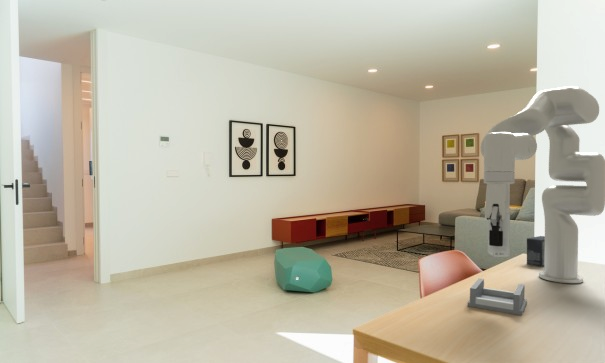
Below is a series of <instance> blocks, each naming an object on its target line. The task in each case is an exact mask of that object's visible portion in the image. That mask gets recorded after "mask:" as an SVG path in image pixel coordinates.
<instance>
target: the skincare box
mask: <svg viewBox="0 0 605 363" xmlns="http://www.w3.org/2000/svg"><path fill="white" fill-rule="evenodd" d="M490 217H491V215H490ZM497 219H500V218H498V217H497ZM490 220H491V218H489V220H487V253H488V254H489V255H490V256H492V257H495V258H497V257H498V258H510V246H511V245H510V242H511V240H510V237H511V235H510V234H511V232H510V230H511V225H510V224H511V213H510V211H509V212H507V214H506V219H505V220H504V221H502V231H503V246H490V245H489V230H490Z"/></svg>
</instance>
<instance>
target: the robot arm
mask: <svg viewBox="0 0 605 363" xmlns="http://www.w3.org/2000/svg"><path fill="white" fill-rule="evenodd" d="M599 105H600V104H599V103H598V100H597V99H596V98H595V97H594V96H593V95H592V94H591V93H589V92H588V91H586V90H585V89H583V88H582V87H578V86H576V85H571V86H563V87H562V86H561V87H557V88H556V87H555V88H549V89H544V90H540V91H537V92H536V93H535V94H534V95H533V96H532V97H531V99H529V101H528V102H527V103H526V105H524V107H523V108H522V110H521V111H519V112H518V113H516V114H514V115H512V116H509V117H508V118H506V119H504V120H502V121H500V122H498V123H496V124H495V125H493V126H492V127H491V128H490V129H489V130H488V132H486V134H485V135H484V137H483V138H482V140H481V143H480V153H481V156H482V157H483V184H486V188H485V189H486V190H485V191H486V192H485V206H484V207H485V208H484V219H485V221H488V220H489V218H491V220H490V230H489V245H490V246H503V231H502V221H504V220H505V219H506V214H507V212H510V203H511V202H510V200H511V199H510V198H511V196H510V195H511V192H510V189H511V188H510V187H511V186H510V185H514V184H515V176H516V175H515V169H516V168H515V166H516V165H515V161H524V160H528V159H530V158H532V157H533V156H534V155H535V154H536V152H537V151H538V149H537V148H538V144H537V140H536V138H535V137H534V136H536V135H538V134H541V133H543V131H545V133H546V134H547V137H548V140H549V149H548V150H549V151H548V152H549V153H548V175H549V177H550V178H551V179H552V180H554V181H559V182H579V183H580V182H583V183H586V184H585V185H570V184H568V185H566V184H561V185H560V184H556V185H551V186H548V187H546V188H545V189H544V190H543V192H542V194H541V202H542V207H543V216H544V236H545V252H544V267H543V270H542V271H540V272H539V273H538V277H539V278H541V279H543V280H546V281H549V282H553V283H554V282H555V283H559V284H560V283H562V284H580V283H583V282H584V277H582V275H579V274H578V273H579V271H578V270H579V269H578V266H579V265H578V264H579V259H578V258H579V228H578V224H577V223H576V222H575V219H574V218H573V217H572V215H575V216H577V215H578V216H591V217H595V216H599V215H602V213H603V212H604V210H605V157H604V156H603V155H602V154H600V153H599V152H593V151H592V152H591V151H590V152H580V138H579V135H578V133H577V132H576V131H575V130H574V129H573V128H572V127H571V126H574V125H583V124H586V125H587V124H591V123H593V122H594V121H596V120H597V119H598V117H599V115H600V106H599ZM490 215H491V217H490ZM497 217H498V218H500V219H497Z"/></svg>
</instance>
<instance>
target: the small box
mask: <svg viewBox="0 0 605 363" xmlns="http://www.w3.org/2000/svg"><path fill="white" fill-rule="evenodd" d="M544 252H545V235H540V236H533V237H532V236H531V237H527V238H526V265H531V266H536V267H540V268H544Z"/></svg>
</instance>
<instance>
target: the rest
mask: <svg viewBox="0 0 605 363" xmlns="http://www.w3.org/2000/svg"><path fill="white" fill-rule="evenodd" d="M527 301H528V299H527V298H525V284H523V283H518V285H517V286H516V288H515V291H510V290H503V289H497V288H496V289H495V288H489V287H485V279H484V278H478V279H477V280H476V281H475V282H474V283H473V284H472V285H471V286H470V288H469V300H468V302H467V307H471V308H477V309H482V310H488V311H492V312H493V311H495V312H499V313H505V314H511V315H515V316H516V315H517V316H523V314H524V311H525V308H526V306H527V304H528V302H527Z"/></svg>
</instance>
